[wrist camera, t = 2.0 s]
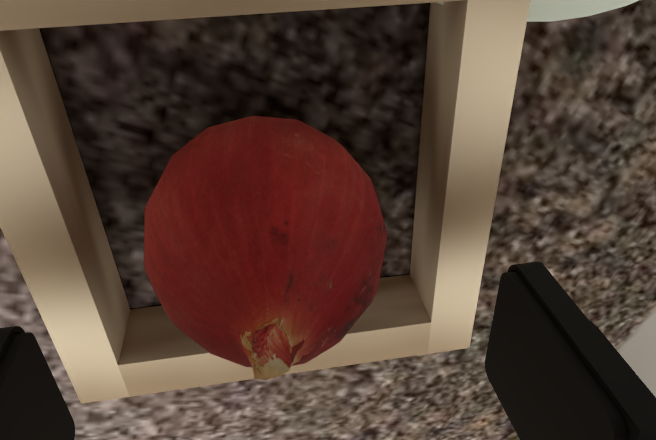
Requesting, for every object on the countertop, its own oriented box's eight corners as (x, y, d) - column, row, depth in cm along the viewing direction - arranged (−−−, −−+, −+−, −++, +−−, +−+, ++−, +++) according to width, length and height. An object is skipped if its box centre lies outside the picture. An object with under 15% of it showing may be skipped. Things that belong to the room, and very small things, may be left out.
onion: (390, 133, 16) (501, 316, 10) (293, 267, 18) (330, 489, 12) (215, 34, 14) (203, 186, 7) (129, 201, 16) (60, 435, 9)
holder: (-64, -63, 12) (-126, -49, 10) (495, -89, 13) (544, -80, 11) (97, 345, 19) (80, 403, 17) (445, 299, 20) (469, 347, 18)
